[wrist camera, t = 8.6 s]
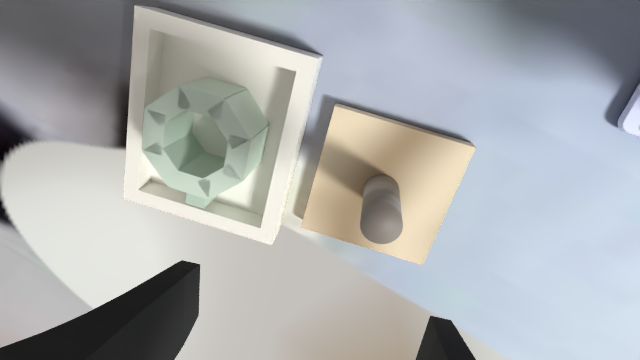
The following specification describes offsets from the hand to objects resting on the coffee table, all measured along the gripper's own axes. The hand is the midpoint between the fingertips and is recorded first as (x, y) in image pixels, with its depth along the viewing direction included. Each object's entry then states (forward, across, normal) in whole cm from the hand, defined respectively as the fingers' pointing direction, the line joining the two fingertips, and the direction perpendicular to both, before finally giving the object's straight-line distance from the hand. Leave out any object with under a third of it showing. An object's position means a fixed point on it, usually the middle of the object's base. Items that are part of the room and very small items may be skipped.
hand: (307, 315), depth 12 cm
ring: (+9, +7, -2) cm, 12 cm away
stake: (+10, -2, -1) cm, 10 cm away
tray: (+10, +7, -2) cm, 12 cm away
